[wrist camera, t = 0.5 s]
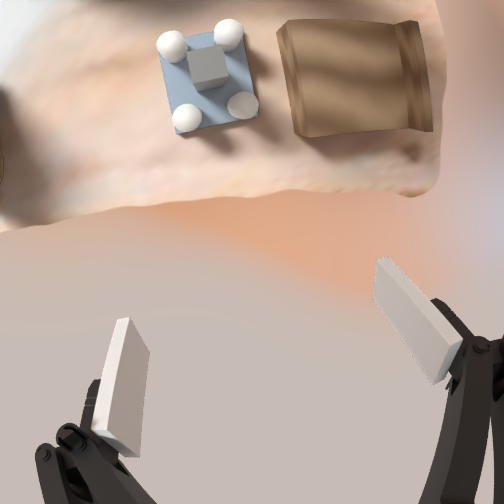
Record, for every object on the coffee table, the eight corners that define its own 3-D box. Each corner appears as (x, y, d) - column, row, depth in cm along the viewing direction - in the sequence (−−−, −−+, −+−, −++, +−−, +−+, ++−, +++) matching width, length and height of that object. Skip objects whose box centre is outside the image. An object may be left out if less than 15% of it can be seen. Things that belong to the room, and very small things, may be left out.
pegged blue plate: (159, 46, 28) (136, 19, 17) (238, 30, 29) (254, -5, 18) (177, 133, 34) (163, 144, 23) (256, 116, 34) (279, 119, 23)
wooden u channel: (276, 32, 29) (297, 11, 21) (377, 33, 30) (417, 21, 21) (294, 133, 36) (321, 141, 27) (391, 123, 36) (432, 131, 28)
